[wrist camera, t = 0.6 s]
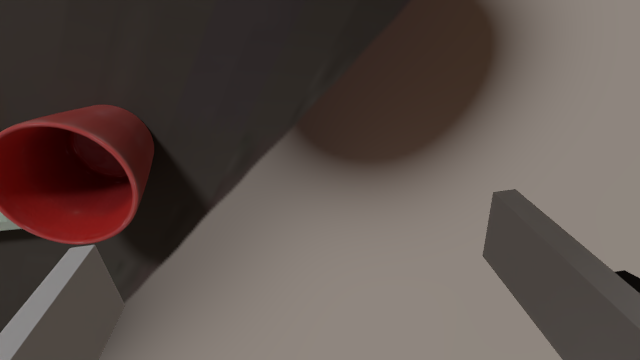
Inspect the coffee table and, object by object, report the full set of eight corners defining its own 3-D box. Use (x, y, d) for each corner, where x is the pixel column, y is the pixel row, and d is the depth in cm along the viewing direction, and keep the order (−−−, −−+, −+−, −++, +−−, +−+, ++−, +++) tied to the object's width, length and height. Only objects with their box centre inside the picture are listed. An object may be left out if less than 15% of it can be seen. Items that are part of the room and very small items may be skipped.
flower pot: (43, 79, 32) (-44, 111, 23) (170, 97, 34) (133, 133, 25) (61, 181, 37) (-6, 239, 28) (172, 192, 39) (141, 250, 30)
